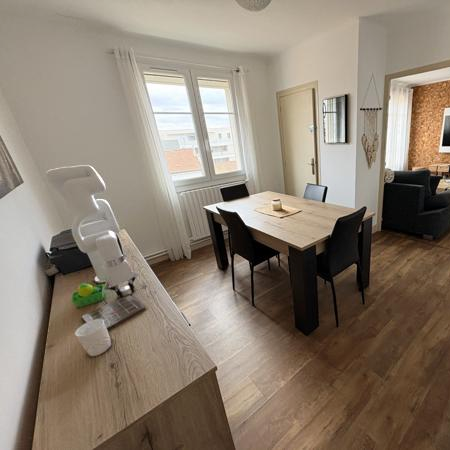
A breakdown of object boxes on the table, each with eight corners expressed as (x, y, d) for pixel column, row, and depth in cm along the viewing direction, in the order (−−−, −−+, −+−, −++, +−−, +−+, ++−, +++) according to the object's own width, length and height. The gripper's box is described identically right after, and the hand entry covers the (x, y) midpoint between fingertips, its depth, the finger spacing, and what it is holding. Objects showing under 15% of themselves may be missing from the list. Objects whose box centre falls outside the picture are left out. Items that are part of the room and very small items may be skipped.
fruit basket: (107, 292, 120) (98, 273, 115) (105, 301, 113) (96, 281, 109) (77, 301, 114) (67, 281, 110) (74, 312, 107) (63, 291, 103)
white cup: (83, 361, 82) (71, 339, 79) (89, 345, 89) (79, 324, 85) (111, 351, 86) (100, 330, 82) (115, 336, 92) (105, 316, 89)
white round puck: (119, 294, 117) (117, 289, 116) (129, 289, 121) (128, 284, 119) (123, 297, 115) (121, 292, 114) (133, 292, 118) (131, 287, 117)
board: (82, 318, 103) (81, 316, 102) (129, 295, 116) (128, 293, 116) (96, 336, 93) (95, 334, 92) (145, 309, 106) (144, 307, 105)
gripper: (130, 251, 119) (141, 282, 126) (88, 267, 107) (103, 300, 114) (137, 255, 115) (148, 286, 122) (94, 272, 103) (109, 306, 109)
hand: (126, 292), depth 118 cm, fingers closed on white round puck, 4 cm apart
